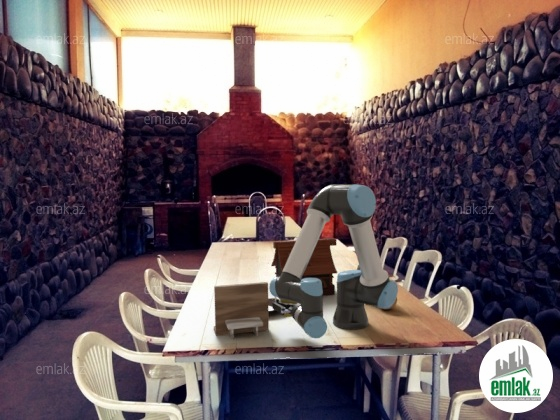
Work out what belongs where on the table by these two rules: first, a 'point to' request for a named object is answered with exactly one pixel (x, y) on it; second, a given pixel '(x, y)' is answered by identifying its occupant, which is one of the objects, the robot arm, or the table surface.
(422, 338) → the table surface
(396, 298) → the onion
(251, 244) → the table surface
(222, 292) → the cleat board
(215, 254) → the table surface
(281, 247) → the house
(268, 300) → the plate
